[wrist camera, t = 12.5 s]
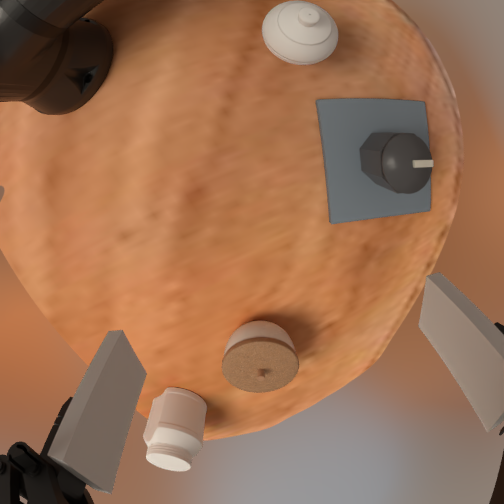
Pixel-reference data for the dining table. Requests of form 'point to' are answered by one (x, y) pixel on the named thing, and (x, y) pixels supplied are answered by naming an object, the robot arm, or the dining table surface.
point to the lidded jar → (259, 357)
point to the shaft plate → (348, 156)
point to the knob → (396, 161)
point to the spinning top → (300, 32)
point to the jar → (175, 429)
